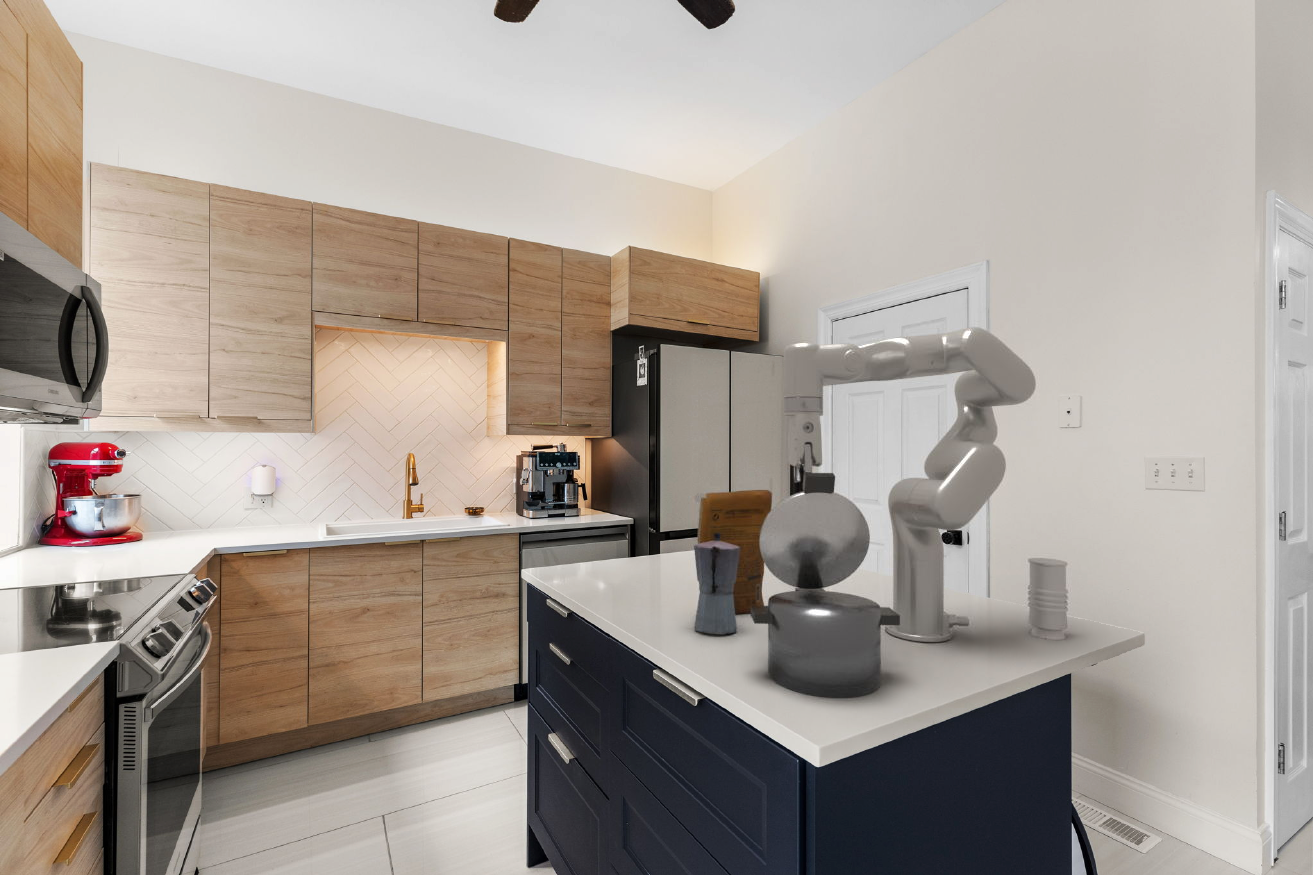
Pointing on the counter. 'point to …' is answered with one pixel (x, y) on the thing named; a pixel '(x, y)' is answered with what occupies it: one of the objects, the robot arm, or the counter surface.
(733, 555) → the moka pot
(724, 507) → the pancake mix bag
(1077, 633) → the counter surface
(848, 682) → the cooker pot
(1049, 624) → the grey ribbed canister
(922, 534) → the robot arm
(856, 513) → the lid
